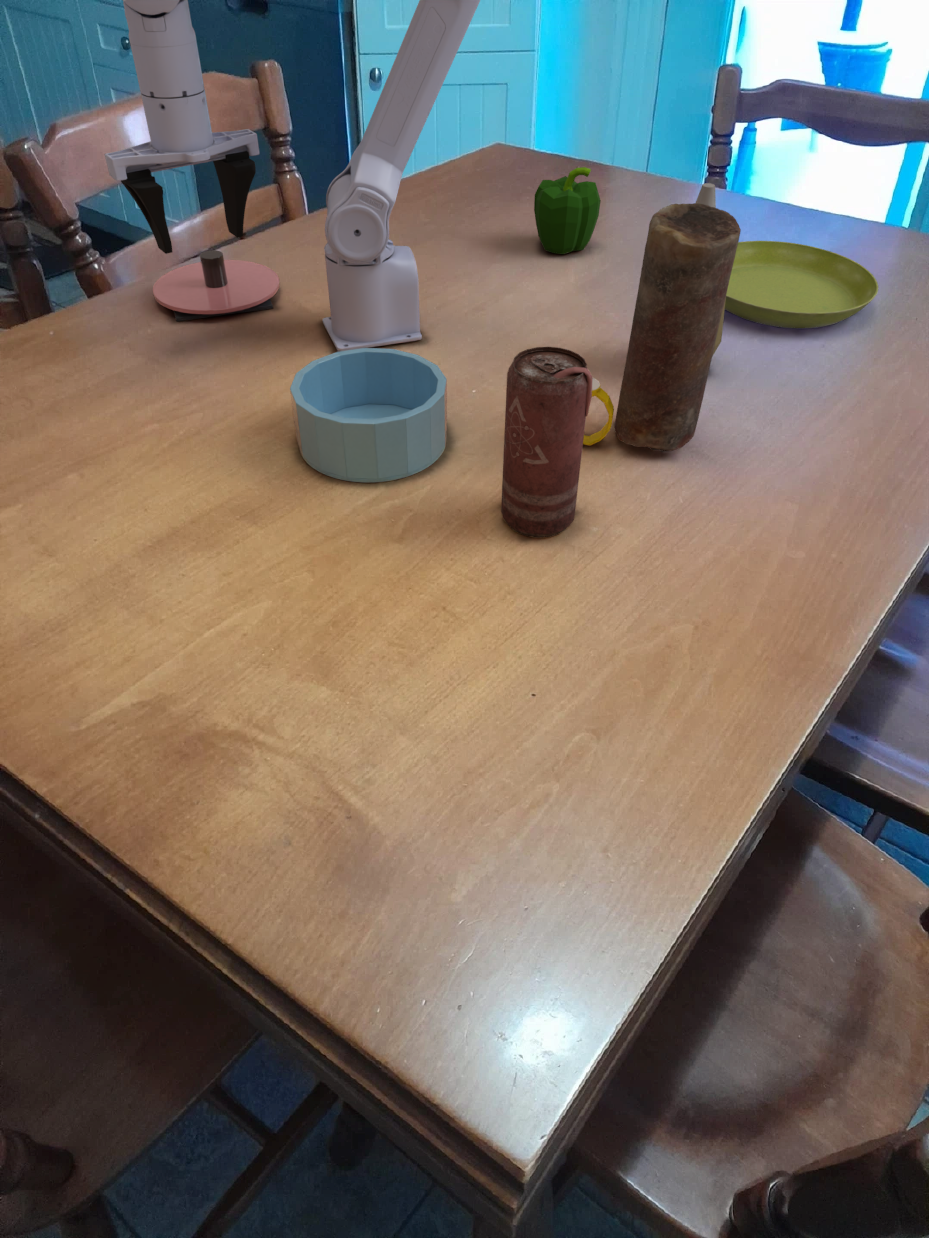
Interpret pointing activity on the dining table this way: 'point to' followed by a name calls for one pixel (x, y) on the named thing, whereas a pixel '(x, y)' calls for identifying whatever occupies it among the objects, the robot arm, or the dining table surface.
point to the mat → (187, 316)
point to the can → (544, 439)
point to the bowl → (370, 414)
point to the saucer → (796, 285)
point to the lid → (216, 285)
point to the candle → (675, 324)
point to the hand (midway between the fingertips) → (201, 242)
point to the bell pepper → (566, 212)
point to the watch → (610, 409)
